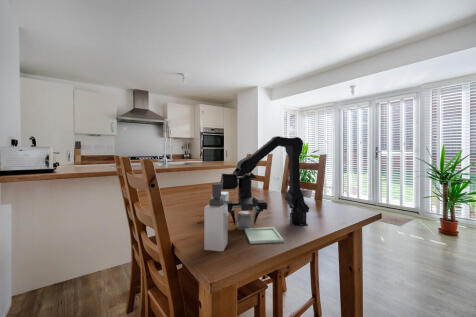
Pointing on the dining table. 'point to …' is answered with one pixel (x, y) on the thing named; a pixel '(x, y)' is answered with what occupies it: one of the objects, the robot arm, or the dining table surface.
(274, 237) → the tray
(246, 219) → the pot
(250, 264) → the dining table surface
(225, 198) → the supplement box
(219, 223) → the soap dispenser
